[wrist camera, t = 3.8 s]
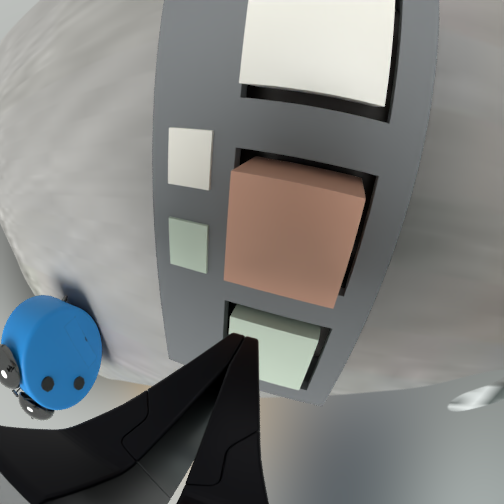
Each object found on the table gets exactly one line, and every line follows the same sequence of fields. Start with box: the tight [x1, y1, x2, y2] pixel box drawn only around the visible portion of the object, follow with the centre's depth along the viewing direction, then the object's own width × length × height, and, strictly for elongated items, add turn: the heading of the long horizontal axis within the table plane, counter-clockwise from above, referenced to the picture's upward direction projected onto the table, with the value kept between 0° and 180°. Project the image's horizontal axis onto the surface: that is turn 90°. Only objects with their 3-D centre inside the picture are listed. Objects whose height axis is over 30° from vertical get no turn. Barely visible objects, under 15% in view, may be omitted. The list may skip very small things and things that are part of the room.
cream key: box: [239, 0, 395, 107], centre depth 9 cm, size 5×5×4 cm
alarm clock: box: [0, 295, 102, 420], centre depth 27 cm, size 13×6×15 cm, turn 0°
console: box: [152, 0, 439, 406], centre depth 16 cm, size 13×28×4 cm, turn 174°
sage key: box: [229, 304, 321, 390], centre depth 20 cm, size 5×5×4 cm
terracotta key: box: [224, 156, 366, 309], centre depth 14 cm, size 5×5×4 cm
